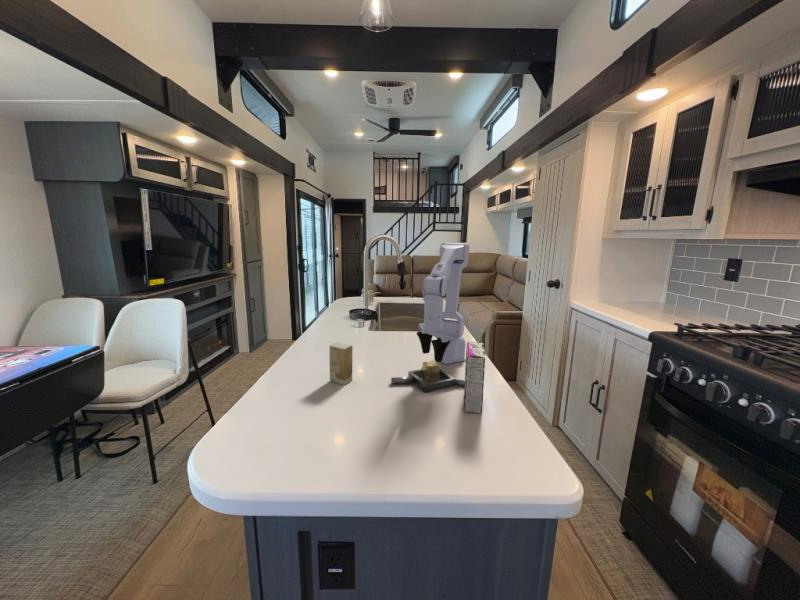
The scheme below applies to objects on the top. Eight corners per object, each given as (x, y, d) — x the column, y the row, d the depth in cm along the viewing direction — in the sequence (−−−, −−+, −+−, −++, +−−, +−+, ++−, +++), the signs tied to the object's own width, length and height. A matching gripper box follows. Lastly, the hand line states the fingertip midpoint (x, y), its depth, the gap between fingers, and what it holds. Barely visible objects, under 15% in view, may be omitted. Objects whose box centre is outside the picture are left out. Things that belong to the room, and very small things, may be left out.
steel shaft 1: (412, 381, 104) (412, 375, 103) (413, 384, 102) (413, 378, 101) (391, 382, 103) (391, 376, 103) (391, 385, 101) (391, 379, 101)
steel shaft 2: (453, 386, 101) (453, 380, 100) (453, 383, 102) (454, 378, 102) (476, 389, 99) (476, 383, 98) (476, 386, 101) (476, 380, 100)
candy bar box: (463, 392, 97) (466, 341, 93) (480, 394, 96) (484, 342, 92) (463, 412, 86) (466, 355, 83) (482, 415, 85) (486, 356, 82)
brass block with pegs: (435, 376, 106) (436, 359, 105) (442, 381, 103) (443, 364, 101) (418, 380, 103) (419, 362, 102) (425, 385, 100) (425, 367, 99)
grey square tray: (436, 372, 110) (436, 365, 110) (455, 386, 101) (455, 378, 100) (408, 378, 106) (408, 371, 105) (424, 393, 96) (425, 385, 96)
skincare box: (329, 381, 103) (328, 345, 101) (337, 376, 107) (336, 341, 105) (345, 385, 100) (344, 348, 98) (353, 380, 104) (352, 344, 102)
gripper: (411, 311, 103) (410, 351, 106) (434, 322, 91) (433, 367, 93) (429, 309, 106) (428, 348, 109) (455, 320, 94) (453, 363, 96)
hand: (432, 357), depth 102 cm, fingers open, 7 cm apart
